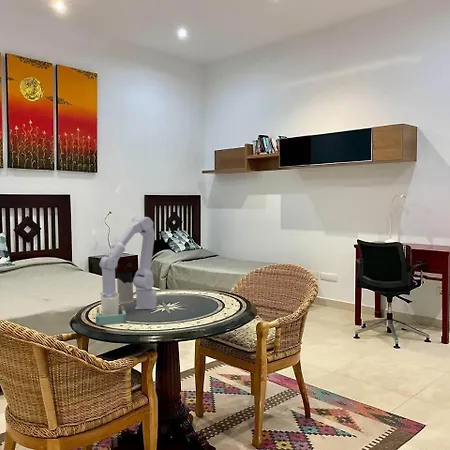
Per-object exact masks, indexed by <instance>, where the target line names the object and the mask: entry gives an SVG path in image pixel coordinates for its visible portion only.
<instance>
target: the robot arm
mask: <svg viewBox="0 0 450 450" xmlns="http://www.w3.org/2000/svg"><path fill="white" fill-rule="evenodd" d="M138 233H139V234H140V235H141V236H142V243H141V244H142V245H141V250H140V251H141V252H140V259H139V260H140V261H139V267H138V269H137V271H136V272H135V274H134V277H133V278H132V282H133V287H135V291H136V293H135V294H136V295H135V296H136V306H135V307H134V310H152V309H156V307H157V289H155V288H153V287H154V284H155V281H154V274H153V271H152V270H151V268H152V260H153V252H154V244H155V236H156V233H155V229H154V221H153V220H152V219H151V218H150V217H148V216H142V217H141V216H135V217H133V218H132V219H131V221H130V222H129V223H128V227H127V228H126V229H125V231H124V233H123V234H122V236H121V237H120V240H119V241H118V242H115V243H112V244H111V248H110V249H109V251H108V252H107V253H106V254H105V256H104V257H102V258H101V259H100V262H99V263H98V265H99V267H100V268H101V273H102V274H101V275H102V277H101V278H102V279H101V280H102V292H100V293H99V295H100V296H101V294H103V293H106V294H104V296H106V297H107V298H112V296H113V295H115V293H113V292H117V289H116V288H117V286H116V285H117V284H116V268H117V267H118V262H119V260H120V258H121V256H122V255H123V254H124V253H125V251H126V248H125V247H126V246H127V244H128V243H129V242H130V240H131V239H132V238H133V237H134V235H135V234H138Z"/></svg>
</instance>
